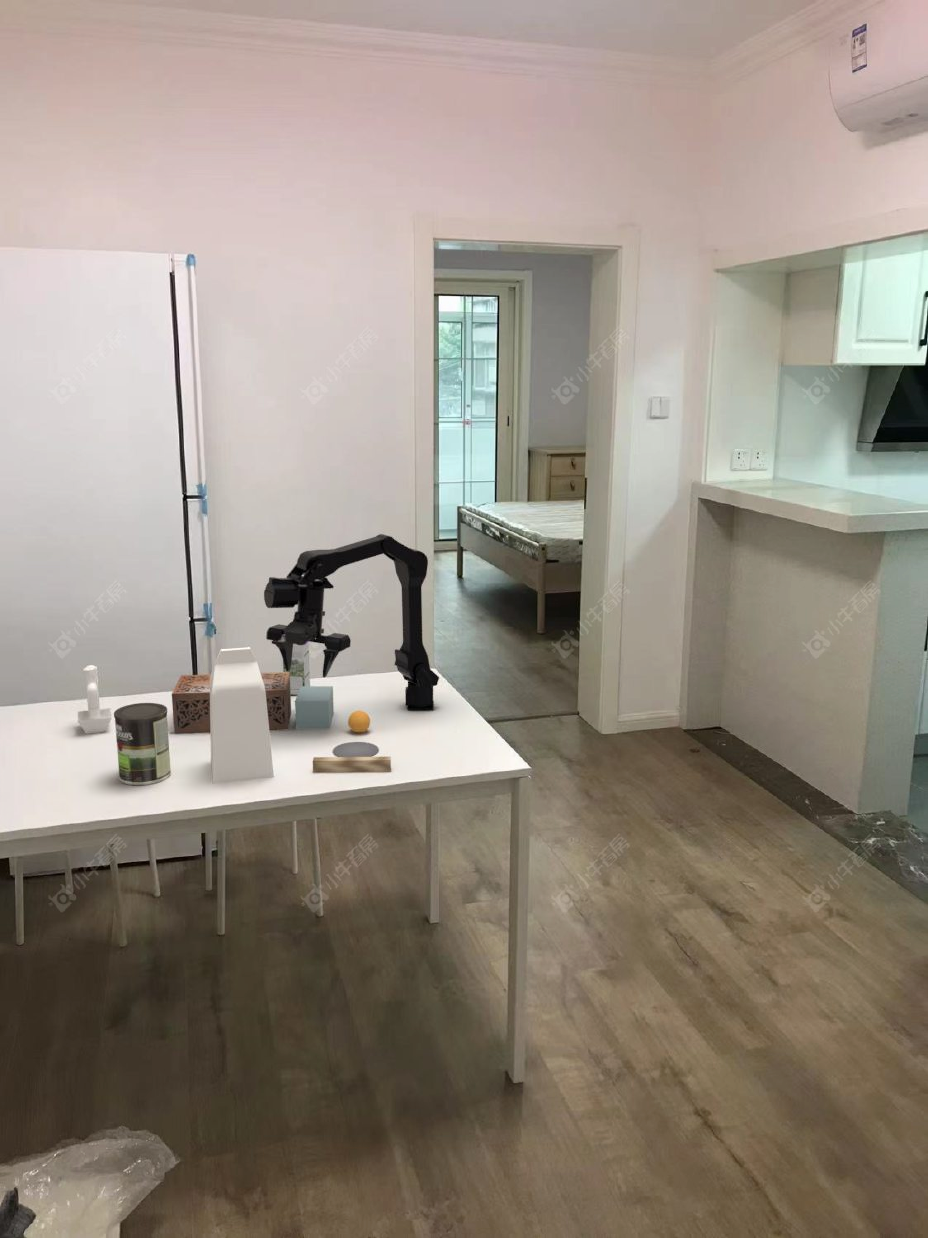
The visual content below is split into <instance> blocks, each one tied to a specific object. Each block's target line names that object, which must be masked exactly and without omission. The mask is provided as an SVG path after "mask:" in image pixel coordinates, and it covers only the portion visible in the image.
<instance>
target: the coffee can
mask: <svg viewBox="0 0 928 1238" xmlns="http://www.w3.org/2000/svg"><path fill="white" fill-rule="evenodd" d="M113 717H114V721H115V722H114V724H115V736H116V737H115V738H116V748H117V750H116V751H117V762H118V763H117V764H118V775H119V776H118V780H119V781H120V782H121V783H123V784H126V785H129V786H147V785H154V784H157V783H160V782H163V781H165V780H167V779H168V778H170V776H171V774H172V771H171V759H170V758H171V757H170V743H169V741H170V740H169V728H168V727H169V726H168V724H169V722H168V707H167V706H166V705H164V704H162V703H155V702H138V703H132V704H128V705H124V706H121V707H119V708H117V709H116V710H115V711H114V712H113Z"/></svg>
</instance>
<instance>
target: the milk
mask: <svg viewBox="0 0 928 1238" xmlns="http://www.w3.org/2000/svg"><path fill="white" fill-rule="evenodd" d="M261 673H262V672H261V671H260V667H259V664H258V661H257V658H256V656H255V654H254V653H253V650H252V648H251V647H250V646H249V647H235V648H221V649H220V650H219V652H218V655H217V657H216V660H215V662H214V665H213V667H212V670H211V673H210V675H211V676H210V733H209V734H210V764H211V765H210V766H211V774H212V782H213V784H216V783H217V784H218V783H227V782H236V781H238V782H239V781H247V780H254V779H255V780H256V779H264V778H274V765H273V756H272V755H273V754H272V753H273V752H272V745H271V743H272V742H271V736H270V735H271V734H270V732H271V731H269V722H268V712H267V701H266V692H265V687H264V683H263V680H262V677H261Z"/></svg>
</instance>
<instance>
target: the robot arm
mask: <svg viewBox="0 0 928 1238" xmlns="http://www.w3.org/2000/svg"><path fill="white" fill-rule="evenodd" d="M381 555H384V556H386V557H387V558H388V559H390V560H391V561H393V563H394V567H395V573H396V576H397V578H398V581H399V583H400V586H401V609H402V613H401V614H402V618H401V619H402V644H401V646H400V648H399V649H397V648H396V649H394V657H395V661H394V666H396V669H397V671H398V672H399V673H400V674H401V675H402V677H403V679H404V681H407V686H405V699H404V700H405V706H407V708H406V709H407V710H408V711H433V710H435V703H434V701H435V700H434V687H435V686H438V683H439V679H440V676H439V675H437V674H436V673H435V672H434V671H433V670H432V669H431V665H430V662H429V655H428V652H427V650H426V648H425V646H424V642H423V606H422V605H423V604H422V603H423V602H422V601H423V599H422V595H423V593H422V586H423V584H424V582H425V580H426V577H427V574H428V566H429V560H428V556H427V554H425V553H424V552H423V551H420V550H417V549H414V548H411V547H408V546H406V545H404V544H403V543H401V542H399V541H398V540H396V539H395V538H394V537H393V536H391V535H386V534H384V533H381V534H378V535H376V536H373V537H370V538H367V539H363V540H359V541H357V542H352V543H350V544H347V545H343V546H340V547H336V548H333V549H332V548H331V549H314V550H306V551H303V552H302V553H300V554H299V556H298V557H297V561H296V564H294V566H293V568H292V569H291V570H290V572H289V573H288V574H287V576H286V577H275V576H273V577H272V576H270V577H269V578H268V582H267V584H266V585H265V588H264V590H263V600H264V604H265V607H267V609H282V608H283V609H287V608H288V609H291V608H294V607H295V606H297V611H294V615H293V620H292V621H291V622H289V623H288V624H287V625H286V624H276V625H273V626H269V628H267V630H266V638H265V639H266V640H267V641H271V644H273V645H275V646H276V647H277V649H278V650H279V652H280V655H281V657H282V662H283V661H284V665H285V668H286V671H290V668H291V662H292V651H293V644H297V645H304V644H305V643H306V642H307V641H309V643H310V642H311V643H316V644H322V645H324V646H325V649H322V652H323V654H324V659H323V664H322V665H323V667H322V678H326V677H327V675H328V673H329V672H330V670H331V668H332V666H333V663H334V662H335V660H336V658H337V657H338V656H339V655H338V654H339V653H340V652H342V651H345V650H346V649H348V648H351V637H350V636H349V635H348V634H345V633H337V632H333V633H331V634H328V635H324V634H325V628H323V617H325V616H326V611H325V610H324V600H325V599H324V598H325V589H326V590H327V589H330V590H331V589H334V585H333V584H332V583H331V582H330V581H329V580H328V578H327V577H329V576H331V575H332V574H335V573H336V572H337V571H338V570H339V569H341V568H343V567H345V566H348V565H351V564H355V563H357V562H360V561H364V560H368V559H370V558H374V557H377V556H381Z"/></svg>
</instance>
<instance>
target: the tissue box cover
mask: <svg viewBox="0 0 928 1238" xmlns="http://www.w3.org/2000/svg"><path fill="white" fill-rule="evenodd" d="M260 673H261V677H262V680H263V683H264V687H265V692H266V701H267V712H268V722H269V732H271V731H289V728H290V723H291V722H290V721H291V714H292V699H291V697H292V695H291V692H290V672H283V671H282V672H279V671H278V672H275V671H274V672H260ZM210 676H211V674H188V675H187V674H185V675H180V677H179V679H178V680H177V683H176V685H174V688H173V690H172V692H171V704H172V719H173V733H174V735H184V734H185V735H186V734H187V735H189V734H210Z"/></svg>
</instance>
